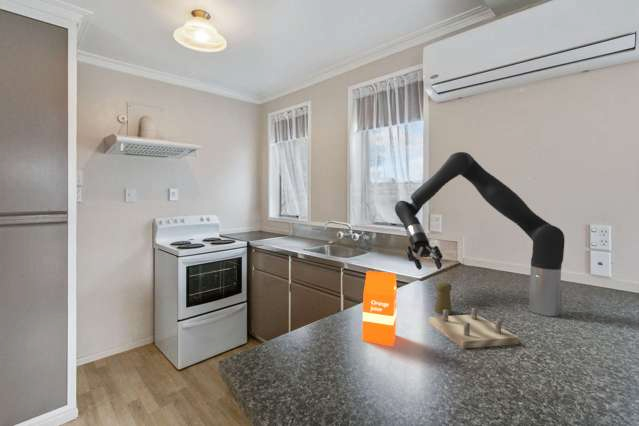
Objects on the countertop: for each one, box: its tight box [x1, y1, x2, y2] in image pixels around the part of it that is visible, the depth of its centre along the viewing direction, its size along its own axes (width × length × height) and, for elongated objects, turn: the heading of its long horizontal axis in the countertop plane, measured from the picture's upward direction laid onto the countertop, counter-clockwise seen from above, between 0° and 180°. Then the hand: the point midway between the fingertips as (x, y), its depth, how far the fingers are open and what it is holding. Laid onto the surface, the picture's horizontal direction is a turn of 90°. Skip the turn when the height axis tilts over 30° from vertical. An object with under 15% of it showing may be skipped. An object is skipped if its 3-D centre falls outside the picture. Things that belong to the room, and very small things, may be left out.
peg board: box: [428, 307, 520, 350], centre depth 96 cm, size 18×18×6 cm
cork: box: [434, 281, 453, 316], centre depth 114 cm, size 6×6×11 cm
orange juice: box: [362, 270, 398, 347], centre depth 91 cm, size 8×9×20 cm
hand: (430, 268), depth 123 cm, fingers open, 8 cm apart
